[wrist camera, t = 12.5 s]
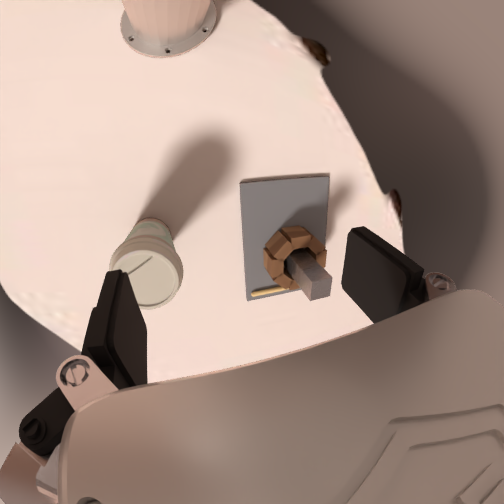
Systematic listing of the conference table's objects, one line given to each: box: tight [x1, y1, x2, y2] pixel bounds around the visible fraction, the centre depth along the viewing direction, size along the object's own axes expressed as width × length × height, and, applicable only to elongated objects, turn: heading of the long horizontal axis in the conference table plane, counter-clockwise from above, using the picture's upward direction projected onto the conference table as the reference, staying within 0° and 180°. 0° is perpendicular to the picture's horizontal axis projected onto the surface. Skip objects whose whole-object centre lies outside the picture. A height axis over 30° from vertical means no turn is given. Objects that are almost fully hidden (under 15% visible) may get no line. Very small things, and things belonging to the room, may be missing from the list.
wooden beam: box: [284, 248, 332, 301], centre depth 39 cm, size 3×3×11 cm
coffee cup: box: [109, 218, 183, 309], centre depth 32 cm, size 8×8×12 cm
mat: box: [240, 176, 329, 301], centre depth 43 cm, size 20×14×1 cm
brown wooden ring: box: [263, 225, 327, 290], centre depth 42 cm, size 9×9×4 cm
